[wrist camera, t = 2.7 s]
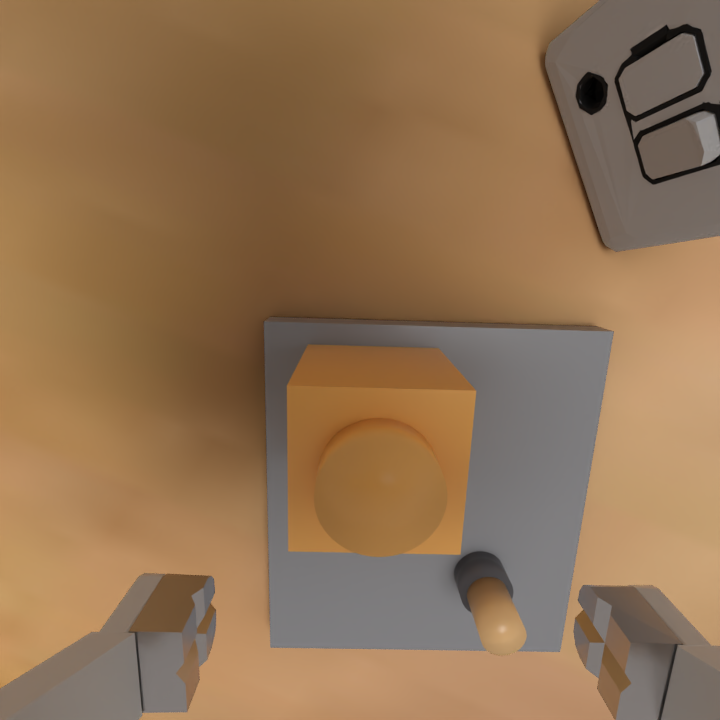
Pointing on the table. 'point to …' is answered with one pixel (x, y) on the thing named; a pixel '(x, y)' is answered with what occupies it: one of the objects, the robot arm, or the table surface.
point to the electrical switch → (644, 117)
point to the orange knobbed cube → (377, 451)
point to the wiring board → (483, 497)
